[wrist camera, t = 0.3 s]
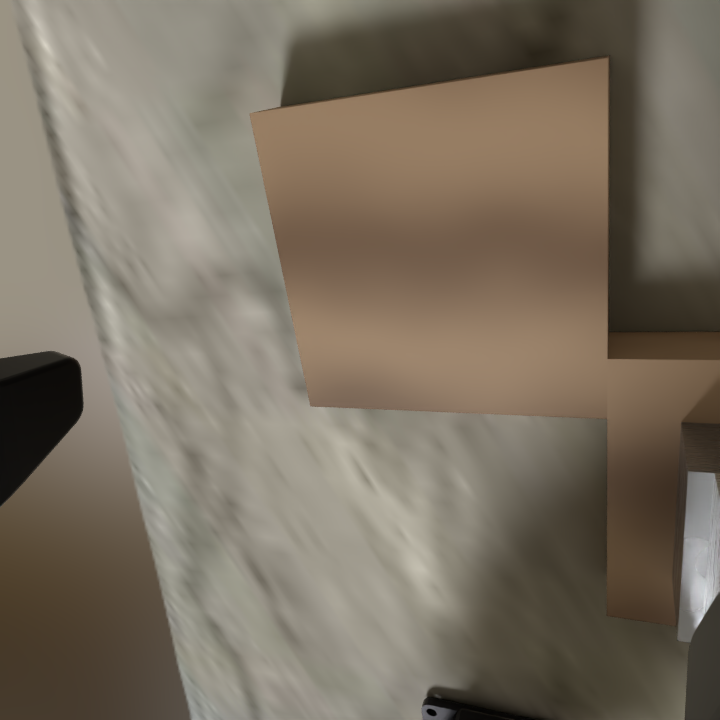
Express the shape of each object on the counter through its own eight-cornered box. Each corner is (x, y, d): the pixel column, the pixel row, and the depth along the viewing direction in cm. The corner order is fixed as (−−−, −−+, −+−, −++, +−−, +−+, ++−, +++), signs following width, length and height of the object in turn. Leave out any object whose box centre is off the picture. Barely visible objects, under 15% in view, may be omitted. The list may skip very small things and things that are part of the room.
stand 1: (608, 388, 21) (607, 419, 19) (331, 380, 25) (310, 406, 23) (609, 55, 17) (608, 57, 15) (279, 106, 21) (249, 113, 19)
